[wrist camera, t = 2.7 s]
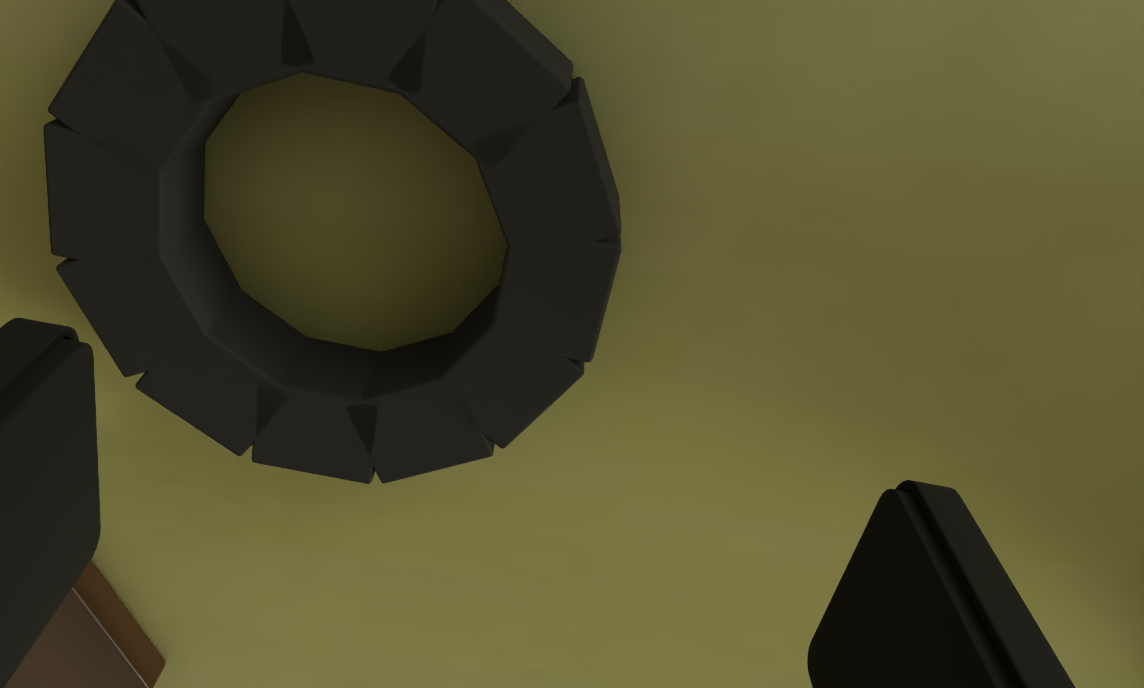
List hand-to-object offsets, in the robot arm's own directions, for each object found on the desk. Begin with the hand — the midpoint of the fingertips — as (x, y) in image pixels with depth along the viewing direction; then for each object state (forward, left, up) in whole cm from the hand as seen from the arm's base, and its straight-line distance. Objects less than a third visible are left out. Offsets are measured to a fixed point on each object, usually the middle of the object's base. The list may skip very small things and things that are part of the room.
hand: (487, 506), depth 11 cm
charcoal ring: (+3, -2, -8) cm, 9 cm away
